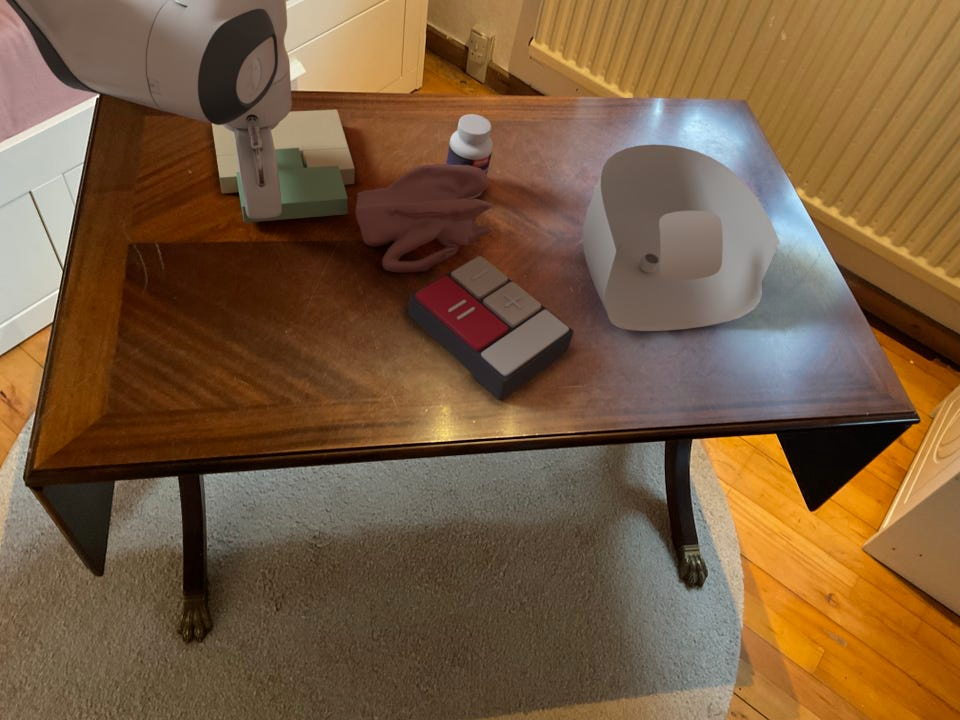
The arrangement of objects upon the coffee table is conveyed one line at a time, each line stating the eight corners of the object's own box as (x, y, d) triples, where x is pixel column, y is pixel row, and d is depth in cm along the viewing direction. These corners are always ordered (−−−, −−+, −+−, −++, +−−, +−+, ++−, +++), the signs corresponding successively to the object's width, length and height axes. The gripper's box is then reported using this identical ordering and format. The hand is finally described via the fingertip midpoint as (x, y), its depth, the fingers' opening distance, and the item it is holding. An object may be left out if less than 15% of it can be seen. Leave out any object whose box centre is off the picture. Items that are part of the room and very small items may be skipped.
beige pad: (222, 193, 89) (219, 177, 87) (213, 131, 96) (210, 114, 94) (354, 184, 94) (354, 168, 92) (337, 125, 100) (337, 109, 98)
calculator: (480, 249, 85) (577, 326, 79) (476, 275, 89) (569, 351, 83) (407, 291, 80) (506, 378, 74) (406, 318, 83) (500, 402, 77)
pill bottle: (471, 206, 95) (483, 143, 87) (435, 188, 96) (444, 124, 88) (491, 184, 98) (504, 122, 90) (456, 167, 99) (467, 104, 91)
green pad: (244, 223, 86) (242, 206, 84) (234, 167, 91) (232, 151, 89) (347, 214, 89) (347, 198, 87) (333, 161, 94) (333, 145, 92)
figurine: (388, 297, 89) (508, 267, 85) (349, 239, 81) (478, 203, 77) (394, 227, 96) (504, 196, 92) (358, 168, 88) (476, 131, 84)
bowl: (689, 215, 101) (726, 143, 91) (749, 324, 90) (797, 256, 81) (551, 220, 95) (575, 145, 86) (597, 337, 85) (629, 266, 75)
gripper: (293, 152, 71) (298, 254, 82) (265, 33, 82) (274, 137, 93) (224, 156, 69) (239, 260, 80) (205, 34, 80) (221, 140, 91)
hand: (257, 193), depth 87 cm, fingers closed on green pad, 6 cm apart
